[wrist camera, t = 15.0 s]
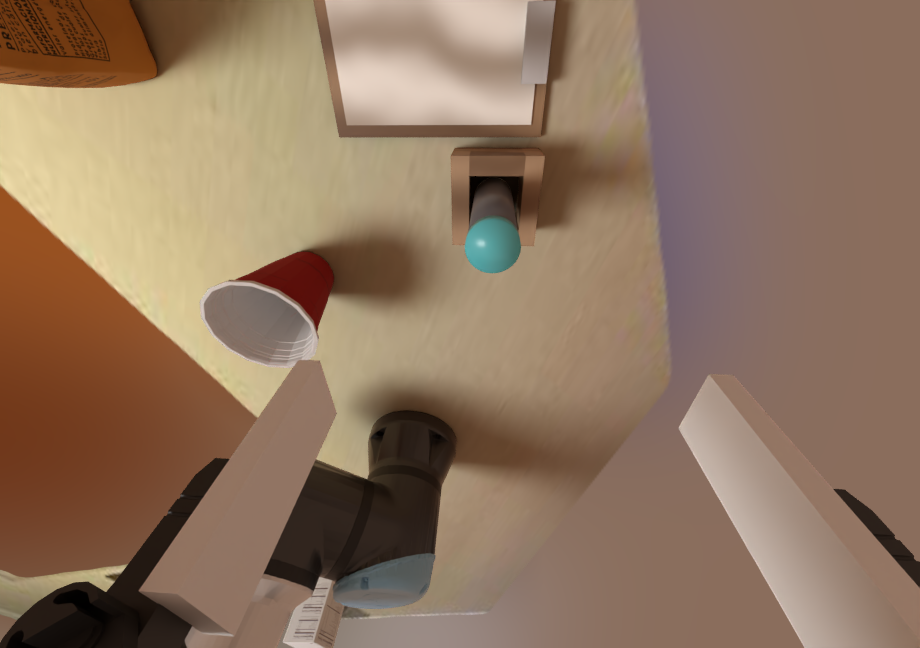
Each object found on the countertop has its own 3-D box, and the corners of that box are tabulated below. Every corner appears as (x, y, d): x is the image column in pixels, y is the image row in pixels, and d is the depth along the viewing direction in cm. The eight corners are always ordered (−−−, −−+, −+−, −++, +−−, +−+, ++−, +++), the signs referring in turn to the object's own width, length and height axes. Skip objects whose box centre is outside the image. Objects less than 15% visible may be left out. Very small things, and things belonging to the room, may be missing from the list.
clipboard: (539, 136, 31) (542, 138, 30) (341, 136, 33) (334, 138, 31) (563, -71, 24) (568, -82, 22) (304, -62, 25) (293, -72, 24)
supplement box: (309, 562, 96) (280, 642, 82) (338, 561, 94) (312, 642, 80) (326, 575, 101) (301, 652, 88) (353, 574, 99) (332, 653, 86)
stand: (529, 230, 37) (533, 246, 33) (456, 229, 37) (452, 244, 33) (538, 148, 32) (545, 156, 28) (454, 148, 32) (450, 155, 29)
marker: (509, 208, 35) (518, 273, 23) (474, 208, 36) (465, 272, 24) (512, 171, 33) (523, 220, 21) (475, 171, 34) (464, 220, 21)
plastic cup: (291, 315, 45) (238, 377, 36) (250, 238, 39) (172, 288, 30) (367, 306, 44) (333, 369, 34) (336, 225, 38) (283, 273, 28)
